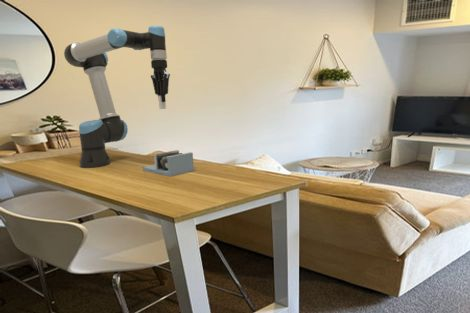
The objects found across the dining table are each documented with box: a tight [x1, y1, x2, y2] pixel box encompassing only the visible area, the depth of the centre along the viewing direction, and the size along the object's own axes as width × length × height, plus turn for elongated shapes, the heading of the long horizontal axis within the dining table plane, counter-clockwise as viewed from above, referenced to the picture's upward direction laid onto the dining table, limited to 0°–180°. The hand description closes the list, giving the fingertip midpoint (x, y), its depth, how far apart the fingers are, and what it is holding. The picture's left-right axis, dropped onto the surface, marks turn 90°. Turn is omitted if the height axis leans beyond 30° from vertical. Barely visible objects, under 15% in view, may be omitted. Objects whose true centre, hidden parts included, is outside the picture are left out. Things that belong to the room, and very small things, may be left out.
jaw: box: [153, 149, 180, 170], centre depth 160 cm, size 2×13×7 cm, turn 137°
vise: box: [141, 152, 195, 177], centre depth 160 cm, size 22×14×8 cm, turn 47°
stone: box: [160, 152, 184, 170], centre depth 157 cm, size 14×7×10 cm, turn 138°
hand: (162, 108), depth 169 cm, fingers closed
